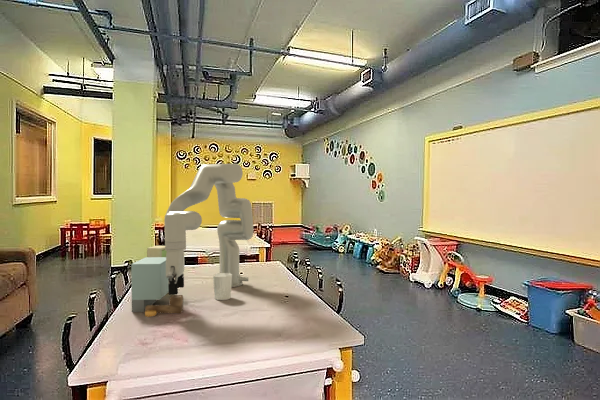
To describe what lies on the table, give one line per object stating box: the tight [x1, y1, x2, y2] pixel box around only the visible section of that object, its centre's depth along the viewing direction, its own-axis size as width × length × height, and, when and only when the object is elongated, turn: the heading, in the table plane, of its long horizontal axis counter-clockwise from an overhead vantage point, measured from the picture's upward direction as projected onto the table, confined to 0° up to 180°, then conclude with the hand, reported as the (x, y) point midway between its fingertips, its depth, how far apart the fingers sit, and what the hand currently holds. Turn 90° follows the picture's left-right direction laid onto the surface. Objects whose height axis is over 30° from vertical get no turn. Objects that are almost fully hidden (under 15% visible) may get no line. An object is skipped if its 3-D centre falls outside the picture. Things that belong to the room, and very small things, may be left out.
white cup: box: [212, 272, 232, 301], centre depth 170 cm, size 8×8×10 cm
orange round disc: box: [144, 310, 157, 318], centre depth 146 cm, size 4×4×2 cm
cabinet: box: [130, 256, 169, 313], centre depth 158 cm, size 11×16×18 cm
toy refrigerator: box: [146, 245, 167, 257], centre depth 177 cm, size 8×7×21 cm
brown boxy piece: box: [144, 294, 184, 314], centre depth 149 cm, size 13×4×6 cm, turn 93°
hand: (176, 290), depth 150 cm, fingers open, 9 cm apart
